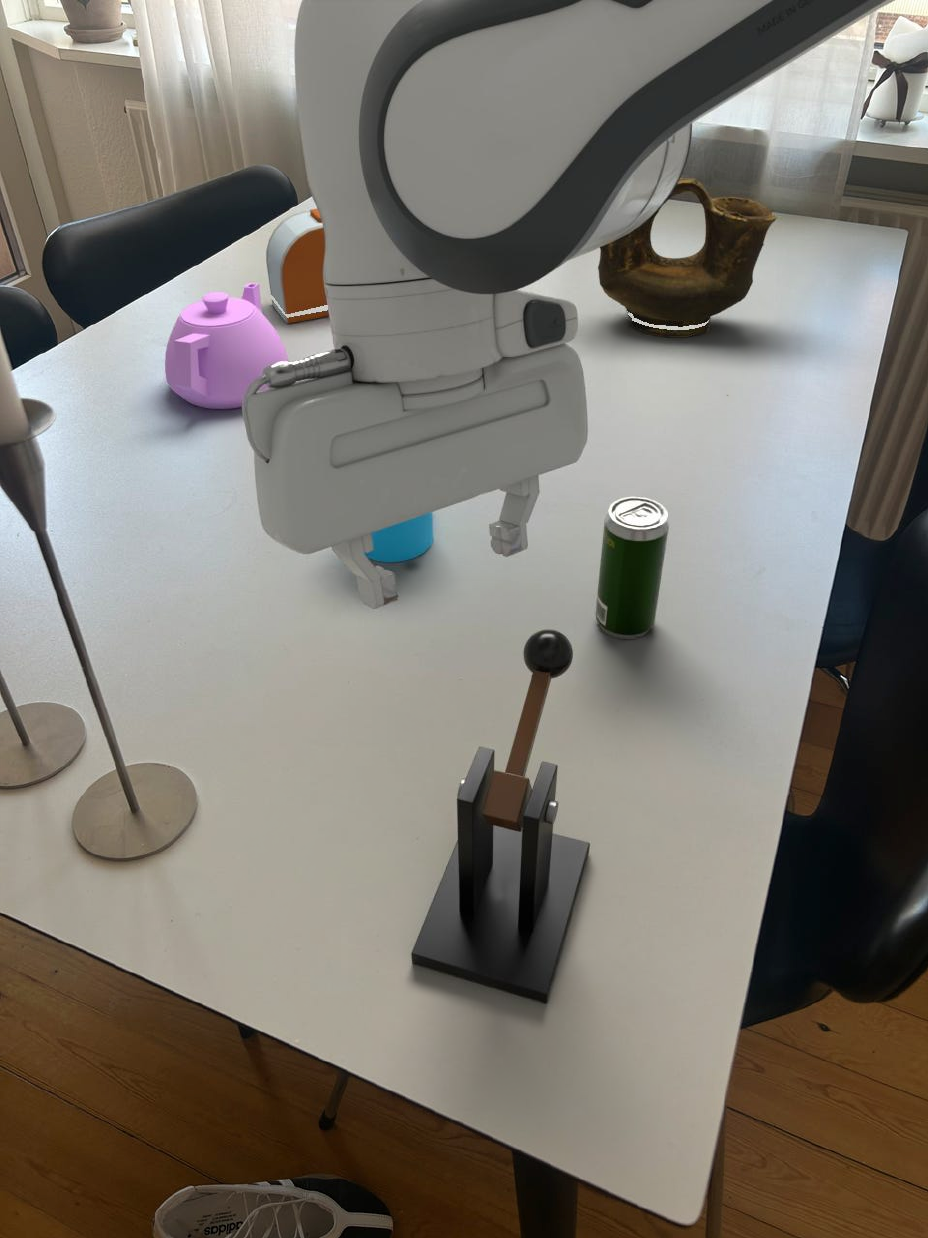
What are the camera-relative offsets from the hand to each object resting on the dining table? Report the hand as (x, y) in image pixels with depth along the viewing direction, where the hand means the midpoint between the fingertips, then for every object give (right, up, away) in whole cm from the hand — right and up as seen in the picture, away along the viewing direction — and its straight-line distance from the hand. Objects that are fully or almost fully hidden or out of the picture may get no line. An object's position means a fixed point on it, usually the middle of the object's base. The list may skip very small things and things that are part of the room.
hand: (447, 576), depth 56 cm
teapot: (-29, +28, +70) cm, 81 cm away
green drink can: (+16, -3, +33) cm, 36 cm away
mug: (-6, +7, +45) cm, 45 cm away
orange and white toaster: (-20, +45, +91) cm, 103 cm away
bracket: (+4, -22, +10) cm, 24 cm away
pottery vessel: (+30, +40, +84) cm, 98 cm away
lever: (+5, -10, +6) cm, 13 cm away
